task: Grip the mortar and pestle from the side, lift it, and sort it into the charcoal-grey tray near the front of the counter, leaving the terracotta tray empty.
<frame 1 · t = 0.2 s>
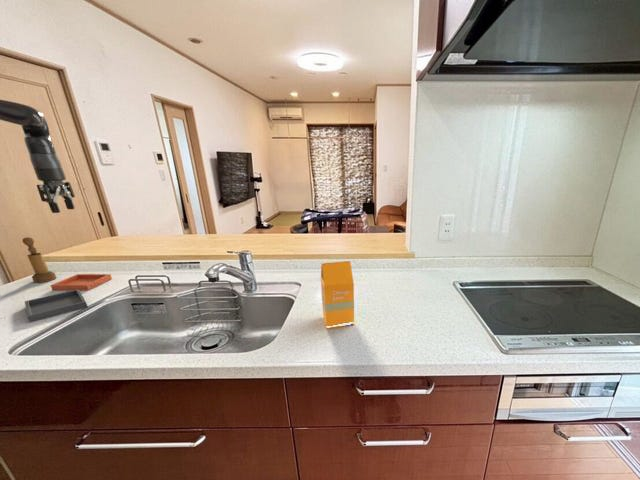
hand: (64, 210, 116), 28 cm above the worktop, tool pointing down, fingers open, 8 cm apart
terracotta tray: (83, 284, 119), on the worktop
grey tray: (57, 306, 101), on the worktop
orange juice: (338, 321, 95), on the worktop
mortar and pestle: (45, 280, 123), on the worktop
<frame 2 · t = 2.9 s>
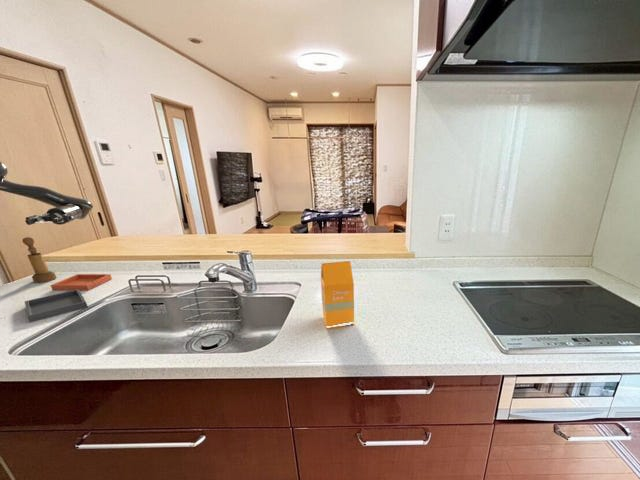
hand: (40, 221, 124), 22 cm above the worktop, tool horizontal, fingers open, 8 cm apart
nothing on the worktop moved.
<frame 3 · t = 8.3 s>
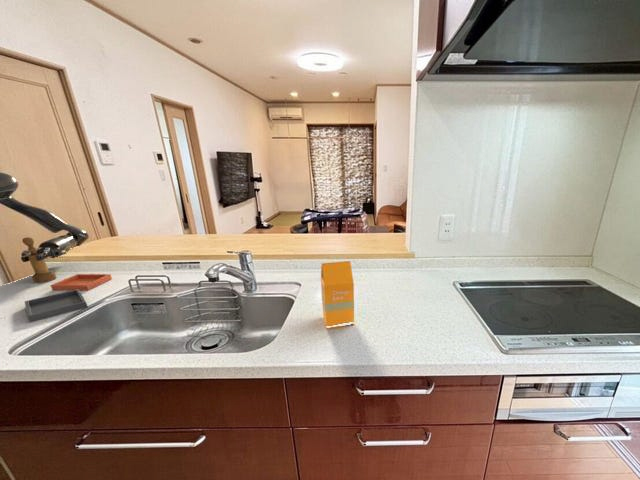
hand: (30, 259, 116), 10 cm above the worktop, tool horizontal, fingers closed on mortar and pestle, 4 cm apart
mortar and pestle: (45, 280, 123), on the worktop, touching gripper
everything else where it was.
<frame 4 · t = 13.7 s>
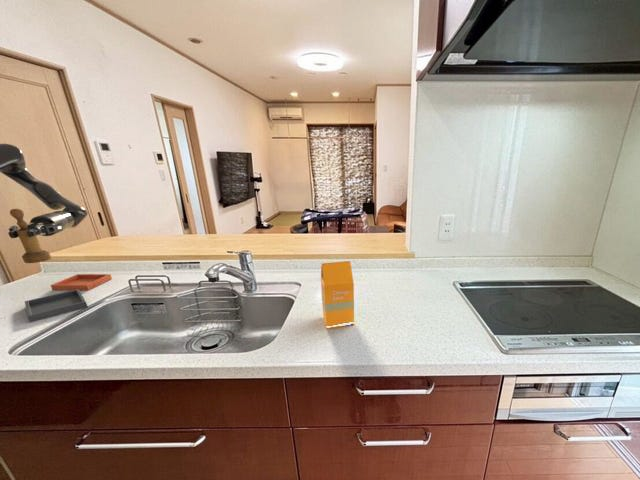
hand: (20, 234, 98), 24 cm above the worktop, tool horizontal, fingers closed on mortar and pestle, 4 cm apart
mortar and pestle: (38, 260, 104), point 14 cm above the worktop, touching gripper
everything else where it was.
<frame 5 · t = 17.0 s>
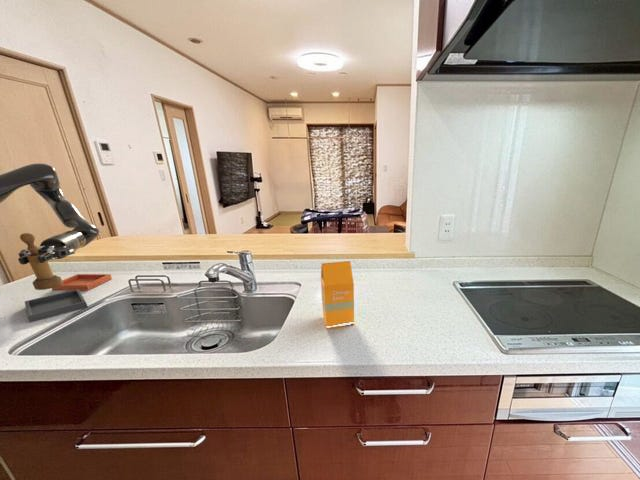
hand: (31, 260, 92), 18 cm above the worktop, tool horizontal, fingers closed on mortar and pestle, 4 cm apart
mortar and pestle: (49, 286, 99), point 8 cm above the worktop, touching gripper
everything else where it was.
when the fingers open (11 cm above the worktop, at t = 19.3 s): mortar and pestle stays where it is, resting on grey tray.
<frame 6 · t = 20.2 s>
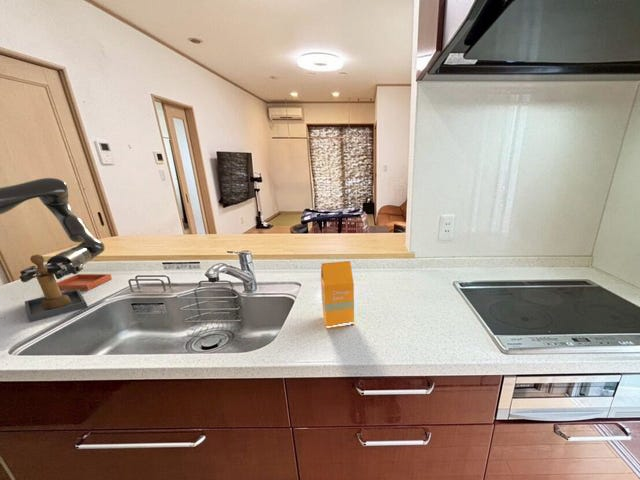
hand: (40, 277, 95), 12 cm above the worktop, tool horizontal, fingers open, 8 cm apart
mortar and pestle: (57, 305, 101), resting on grey tray
everything else where it was.
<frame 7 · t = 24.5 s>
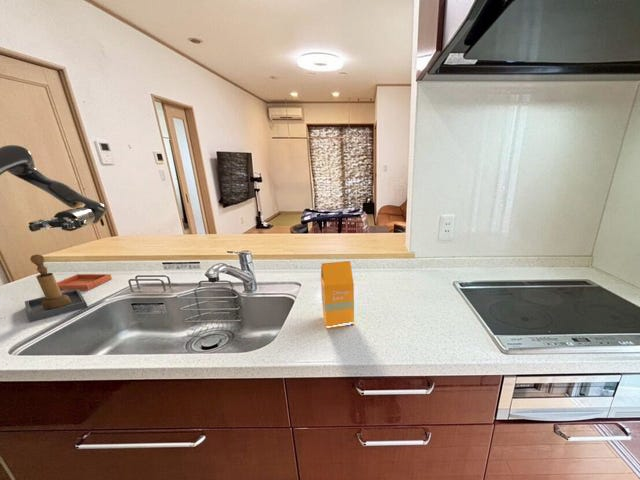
hand: (47, 227, 102), 25 cm above the worktop, tool horizontal, fingers open, 8 cm apart
nothing on the worktop moved.
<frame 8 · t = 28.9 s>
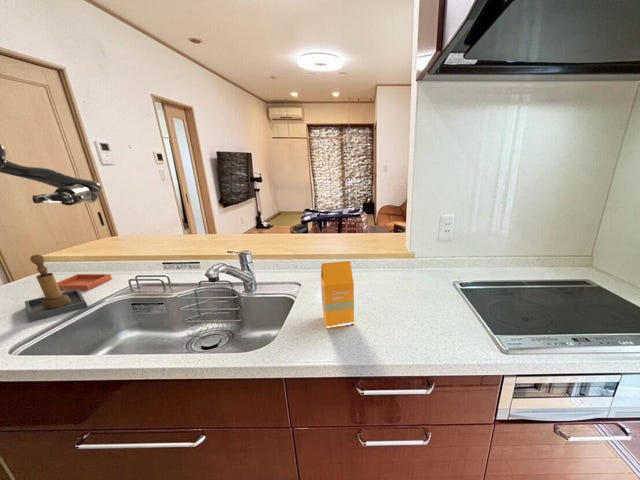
hand: (49, 200, 114), 32 cm above the worktop, tool horizontal, fingers open, 8 cm apart
nothing on the worktop moved.
at the end: mortar and pestle inside the target area in the grey tray (0.2 cm from its centre), point 0.4 cm above the grey tray's base; mortar and pestle tilted 0°; mortar and pestle touching grey tray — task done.
